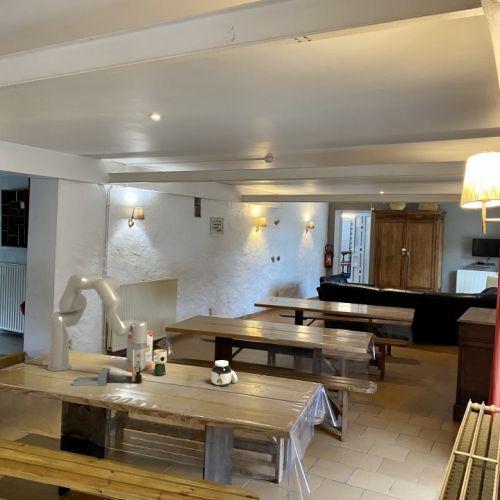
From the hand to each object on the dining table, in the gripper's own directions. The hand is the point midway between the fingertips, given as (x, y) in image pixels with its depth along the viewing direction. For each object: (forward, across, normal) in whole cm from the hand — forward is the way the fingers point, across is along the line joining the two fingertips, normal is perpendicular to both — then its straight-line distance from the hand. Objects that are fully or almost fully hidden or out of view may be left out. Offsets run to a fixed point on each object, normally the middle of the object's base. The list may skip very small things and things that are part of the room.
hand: (138, 380), depth 248 cm
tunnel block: (+1, 0, +23) cm, 23 cm away
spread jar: (+1, -4, -44) cm, 44 cm away
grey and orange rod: (0, 0, +6) cm, 6 cm away
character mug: (+1, +13, -10) cm, 16 cm away
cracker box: (+1, +24, +2) cm, 24 cm away
